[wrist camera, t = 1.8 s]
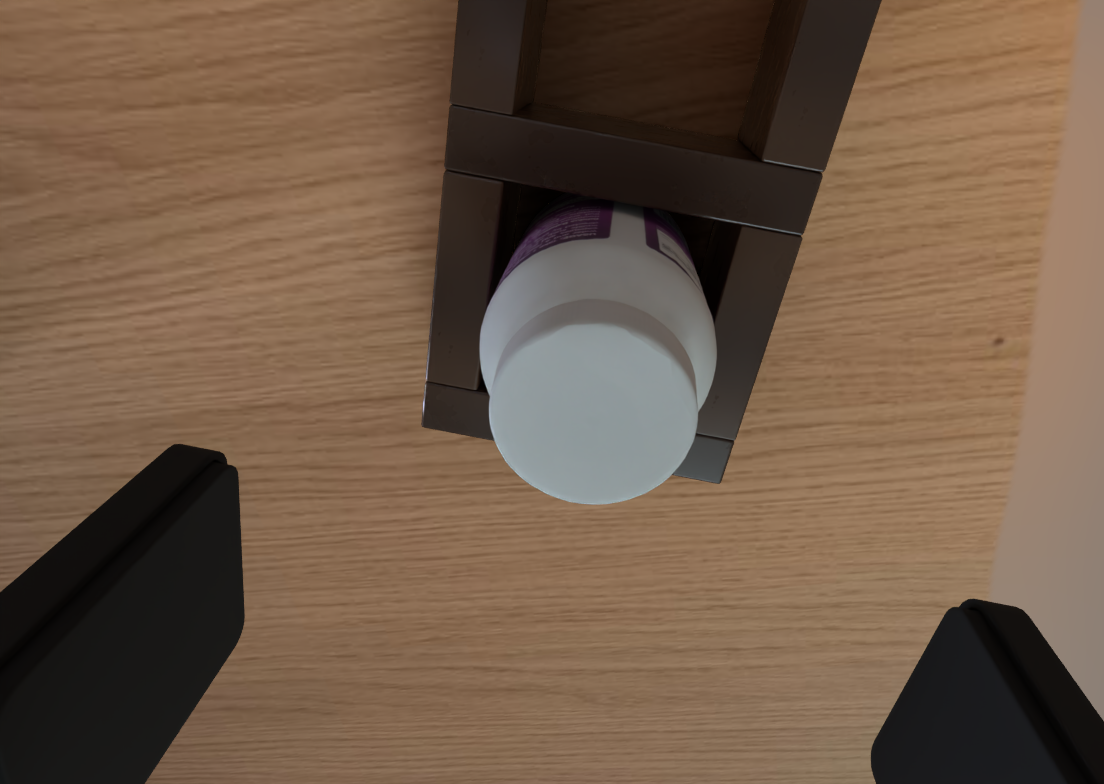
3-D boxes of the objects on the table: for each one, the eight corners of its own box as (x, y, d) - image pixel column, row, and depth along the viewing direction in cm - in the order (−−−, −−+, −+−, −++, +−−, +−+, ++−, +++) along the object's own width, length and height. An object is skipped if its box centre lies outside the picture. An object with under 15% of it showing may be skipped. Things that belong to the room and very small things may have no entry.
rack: (516, -242, 16) (485, -320, 13) (888, -175, 16) (961, -235, 13) (451, 369, 24) (420, 428, 20) (706, 418, 24) (720, 485, 20)
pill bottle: (509, 335, 23) (439, 511, 14) (527, 169, 21) (456, 263, 12) (673, 361, 23) (700, 554, 14) (710, 196, 20) (770, 310, 12)
